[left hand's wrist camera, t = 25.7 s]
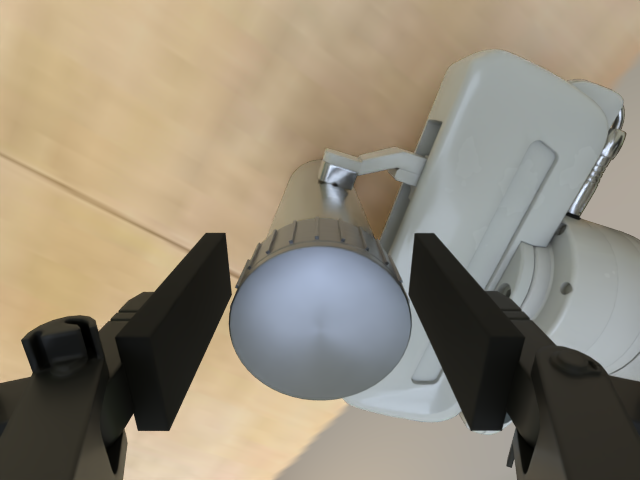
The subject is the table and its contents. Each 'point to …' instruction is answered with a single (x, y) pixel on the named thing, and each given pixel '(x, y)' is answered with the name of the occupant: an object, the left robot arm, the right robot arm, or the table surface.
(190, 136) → the table surface
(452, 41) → the table surface
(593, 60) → the table surface
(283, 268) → the lid
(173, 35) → the table surface
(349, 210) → the metal thermos flask
